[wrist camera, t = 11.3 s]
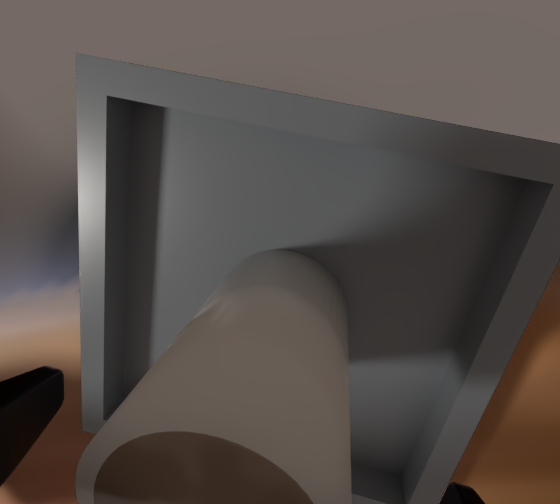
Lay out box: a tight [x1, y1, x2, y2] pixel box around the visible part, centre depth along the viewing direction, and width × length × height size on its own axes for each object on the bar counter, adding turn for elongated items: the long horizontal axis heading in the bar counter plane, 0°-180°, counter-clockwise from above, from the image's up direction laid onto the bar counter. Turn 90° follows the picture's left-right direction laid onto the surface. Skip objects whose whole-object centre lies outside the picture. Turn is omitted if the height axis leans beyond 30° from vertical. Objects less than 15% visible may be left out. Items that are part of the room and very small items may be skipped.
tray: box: [76, 53, 560, 504], centre depth 13 cm, size 15×15×2 cm
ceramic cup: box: [75, 250, 352, 504], centre depth 10 cm, size 5×5×8 cm
